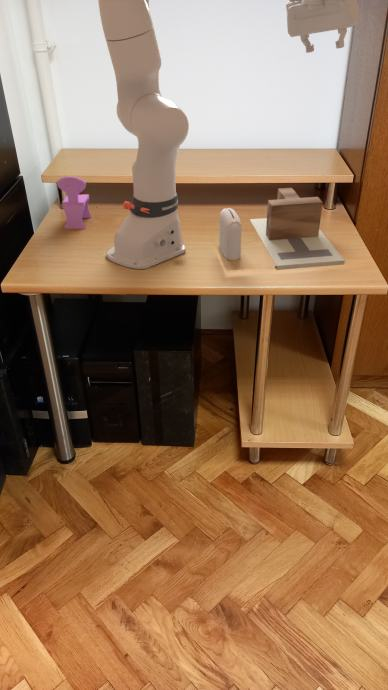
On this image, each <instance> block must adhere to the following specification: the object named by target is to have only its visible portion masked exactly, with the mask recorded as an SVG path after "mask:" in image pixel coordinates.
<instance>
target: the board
mask: <svg viewBox="0 0 388 690" xmlns="http://www.w3.org/2000/svg"><path fill="white" fill-rule="evenodd" d="M249 221H250V222H251V224H252V226H253V228H254V229H255V231H256V233H257V234H258V237H259V238H260V240H261V241H262V244H263V245H264V246H265V248H266V250H267V251H268V254H269V255H270V257H271V259H272V260H273V262H274V269H275V270H276V271H279V270H280V271H283V270H292V269H305V268H307V269H308V268H316V267H317V268H318V267H319V268H320V267H330V266H340V265H341V266H342V265H345V259H344V258H343V256H342V255H341V254H340V253H339V252H338V250H337V248H335V246H334V245H333V244H332V243H331V242H330V240H329V239H328V238H327V236H326V235H325V234H324V233H323V232H322V230H321V229H320V228H319V235H318V237H307V238H294V239H281V240H269V239H268V237H267V236H266V223H267V217H265V218H250V219H249ZM275 265H276V266H275Z"/></svg>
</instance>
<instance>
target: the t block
mask: <svg viewBox="0 0 388 690" xmlns="http://www.w3.org/2000/svg"><path fill="white" fill-rule="evenodd" d="M323 203H324V202H323V201H322V200H321V198H320V197H318V196H311V197H310V196H309V197H300V196H299V194H297V192H296V190H294V188H292V187H284V188H283V187H282V188H281V187H280V188H277V199H267V207H266V208H267V209H266V211H267V212H266V218H267V223H266V236H267V237H268V239H269V240H281V239H294V238H307V237H318V235H319V229H320V224H321V219H322V217H321V216H322V209H323Z"/></svg>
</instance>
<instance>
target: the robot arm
mask: <svg viewBox="0 0 388 690" xmlns="http://www.w3.org/2000/svg"><path fill="white" fill-rule="evenodd" d="M149 2H150V1H149V0H98V8H99V15H100V21H101V26H102V30H103V34H104V39H105V42H106V46H107V49H108V52H109V56H110V60H111V64H112V67H113V71H114V76H115V77H114V78H115V81H116V92H117V94H116V95H117V104H116V115H117V118H118V120H119V122H120V123H121V124H122V126H123V127H124V129H125V130H126V131H127V132H128V133H130V134H131V135H134V136H135V137H136V138H137V142H138V143H137V144H138V145H137V147H138V148H137V153H136V157H135V158H136V160H135V161H134V162H133V164H132V167H131V169H132V170H131V171H132V183H133V184H132V185H133V194H132V198H131V201H127V200H124V202H123V204H122V207H123V209H125V210H127V211H128V210H129V213H128V215H127V216H126V217H125V219H124V221H123V222H122V224H121V225H120V226H119V228H118V229H117V231H116V232H115V234H114V244H113V246H112V247H111V248H110V249H108V250H107V251H106V252H105V253H106V254H105V255H106V258H107V259H108V260H109V261H111V262H113V263H115V264H117V265H120V266H122V267H127V268H130V269H139V270H145V269H148V268H150V267H153V266H155V265H158V264H159V263H162V262H164V261H165V262H166V261H167V260H170V259H172V258H175V257H177V256H179V255H182V254H185V253H186V251H187V250H186V246H185V244H184V241H183V236H182V235H183V234H182V228H181V227H182V226H181V221H180V217H179V215H178V214H179V213H178V208H179V199H178V198H179V197H178V193H177V192H176V191H177V190H176V187H177V186H176V184H177V183H176V182H177V181H176V177H177V176H176V164H177V159H178V154H179V151H180V146H181V145H182V144H183V143H184V141H185V140H186V138H187V136H188V133H189V119H188V117H187V115H186V114H185V112H184V111H183V110H182V108H180V107H179V106H178V105H177V104H176V103H175V102H174V101H171V100H170V99H167V98H165V97H163V96H162V93H161V91H160V84H159V83H160V82H159V78H160V77H159V73H160V69H161V67H162V58H161V54H160V50H159V44H158V41H157V36H156V32H155V27H154V24H153V19H152V16H151V12H150V3H149ZM285 8H286V24H287V25H286V27H287V33H288V35H289V36H290V38H294V37H299V36H300V41H301V43H303V46H305V53H306V54H309V53H313V52H314V51H315V48H314V47H315V46H314V43H311V41H310V39H309V38H310V35H312V34H319V33H325V32H330V31H336V30H337V34H338V35H339V37H338V39H337V40H336V41H335V48H336V49H341V48H344V47H345V38H346V36H347V32H348V28H352V27H354V26H356V25H358V23H359V21H360V10H359V4H358V0H288V1H287V3H285Z"/></svg>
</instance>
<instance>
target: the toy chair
mask: <svg viewBox="0 0 388 690" xmlns="http://www.w3.org/2000/svg"><path fill="white" fill-rule="evenodd" d="M56 181H57V182H56V184H57V187H58V188H59V190H61V191H63V192H64V193H66V196H65V198H64V199H63V201H62V202H61V203H62V209H63V211H64V214H65V217H66V220H65V225H64V229H77V230H78V229H79V230H80V229H82V230H84V229H85V230H86V225H85V224H84V220H83V219H92V215H91V213H90V209H89V202H90V194H88V193H87V194H86V193H85V194H84V193H83V194H80V193H82V192H83V191H84V190H85V189H86V187H87V183H86V181H85V180H84V179H82V178H81V177H77V176H72V175H71V176H69V175H67V176H62V177H60V178H59V179H58V180H56Z"/></svg>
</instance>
